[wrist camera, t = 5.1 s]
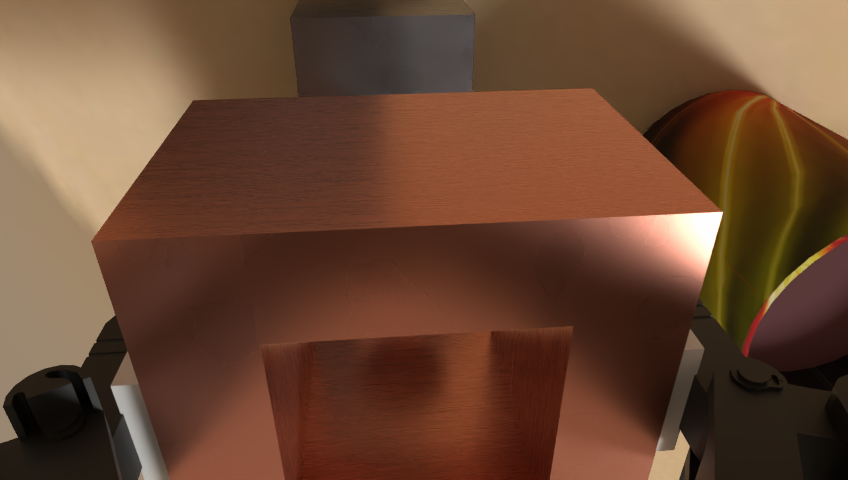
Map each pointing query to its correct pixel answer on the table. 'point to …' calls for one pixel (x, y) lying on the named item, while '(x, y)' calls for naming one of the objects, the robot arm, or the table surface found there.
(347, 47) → the toggle switch
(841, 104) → the table surface
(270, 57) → the table surface
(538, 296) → the red square hollow block
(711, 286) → the mug
